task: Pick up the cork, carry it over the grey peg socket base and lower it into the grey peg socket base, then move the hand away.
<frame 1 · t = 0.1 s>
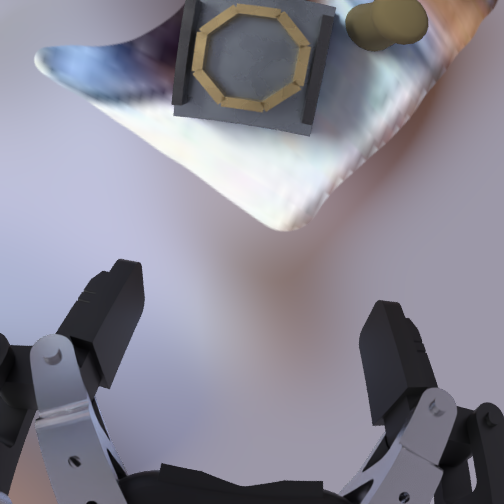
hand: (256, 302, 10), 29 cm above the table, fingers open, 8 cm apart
cork: (370, 27, 27), on the table
grey peg socket base: (254, 58, 30), on the table
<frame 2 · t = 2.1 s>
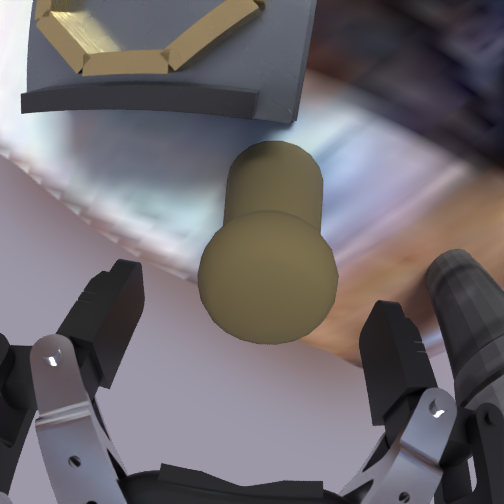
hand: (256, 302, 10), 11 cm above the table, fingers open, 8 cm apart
cork: (275, 186, 20), on the table
beverage cup: (449, 271, 22), on the table
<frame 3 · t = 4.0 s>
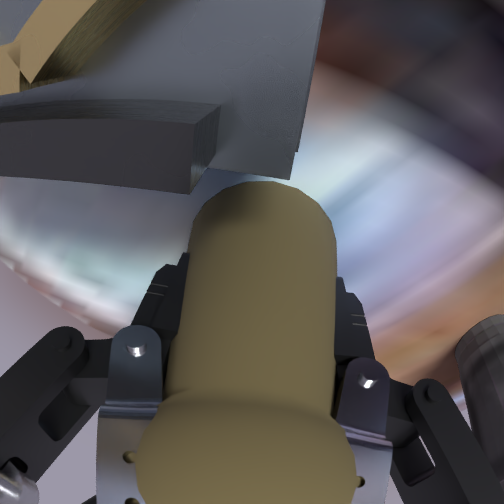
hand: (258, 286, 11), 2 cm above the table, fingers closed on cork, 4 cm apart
cork: (262, 247, 13), on the table, touching gripper
beverage cup: (483, 338, 16), on the table
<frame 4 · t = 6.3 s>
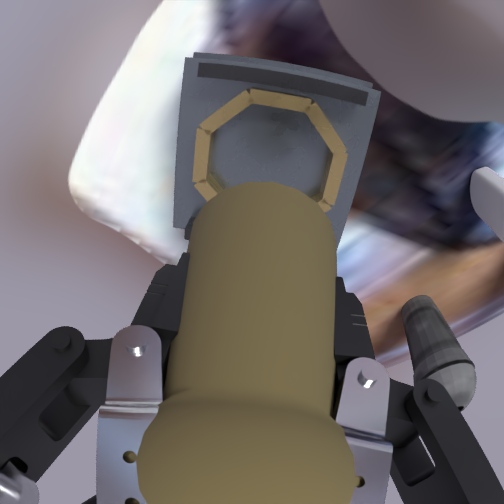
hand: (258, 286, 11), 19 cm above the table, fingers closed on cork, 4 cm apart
cork: (262, 248, 13), point 17 cm above the table, touching gripper
grey peg socket base: (270, 144, 27), on the table
beverage cup: (417, 307, 36), on the table
eye dropper bottle: (480, 189, 27), on the table
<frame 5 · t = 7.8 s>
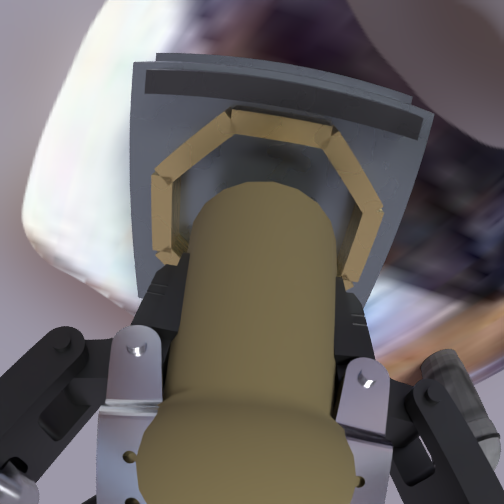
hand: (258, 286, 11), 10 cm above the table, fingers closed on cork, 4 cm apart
cork: (262, 248, 13), point 8 cm above the table, touching gripper
grey peg socket base: (267, 180, 20), on the table
beverage cup: (438, 360, 29), on the table
when the fingers open (9 cm above the table, at t = 9.0 s): cork drops 1 cm, resting on grey peg socket base.
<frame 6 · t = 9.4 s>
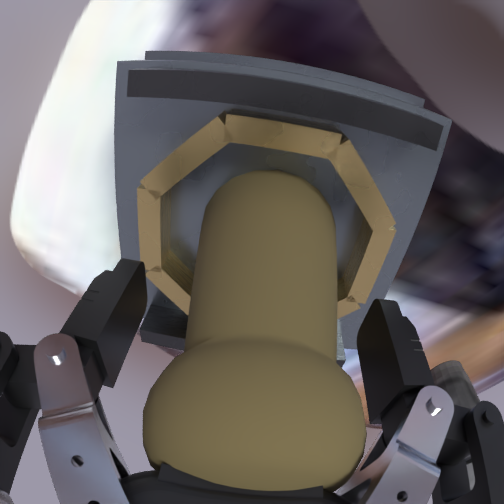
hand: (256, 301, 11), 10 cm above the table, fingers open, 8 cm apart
cork: (268, 231, 14), point 5 cm above the table, touching grey peg socket base
grey peg socket base: (266, 189, 18), on the table
beverage cup: (442, 372, 28), on the table
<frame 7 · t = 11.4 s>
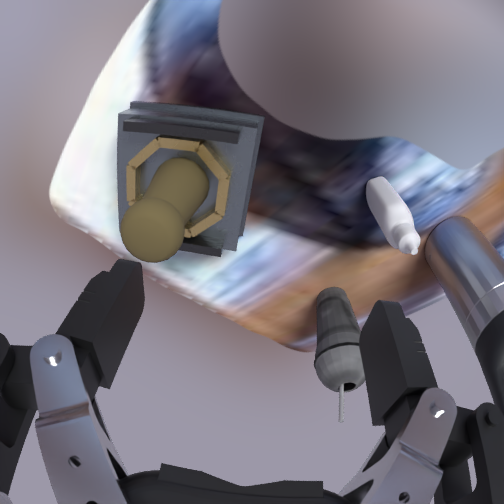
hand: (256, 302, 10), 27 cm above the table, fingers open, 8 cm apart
cork: (181, 184, 32), point 5 cm above the table, touching grey peg socket base
grey peg socket base: (189, 168, 36), on the table
beverage cup: (331, 297, 46), on the table
eye dropper bottle: (378, 196, 37), on the table
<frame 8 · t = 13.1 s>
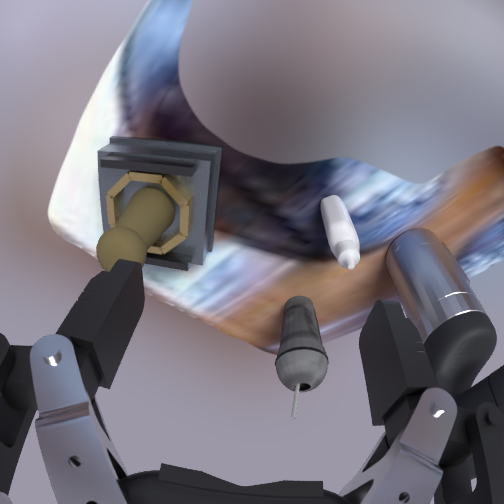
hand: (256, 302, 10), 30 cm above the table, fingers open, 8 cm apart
cork: (152, 209, 37), point 5 cm above the table, touching grey peg socket base
grey peg socket base: (162, 193, 41), on the table
beverage cup: (299, 305, 51), on the table
eye dropper bottle: (334, 212, 41), on the table
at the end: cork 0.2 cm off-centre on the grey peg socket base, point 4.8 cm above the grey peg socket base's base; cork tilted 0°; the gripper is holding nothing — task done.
